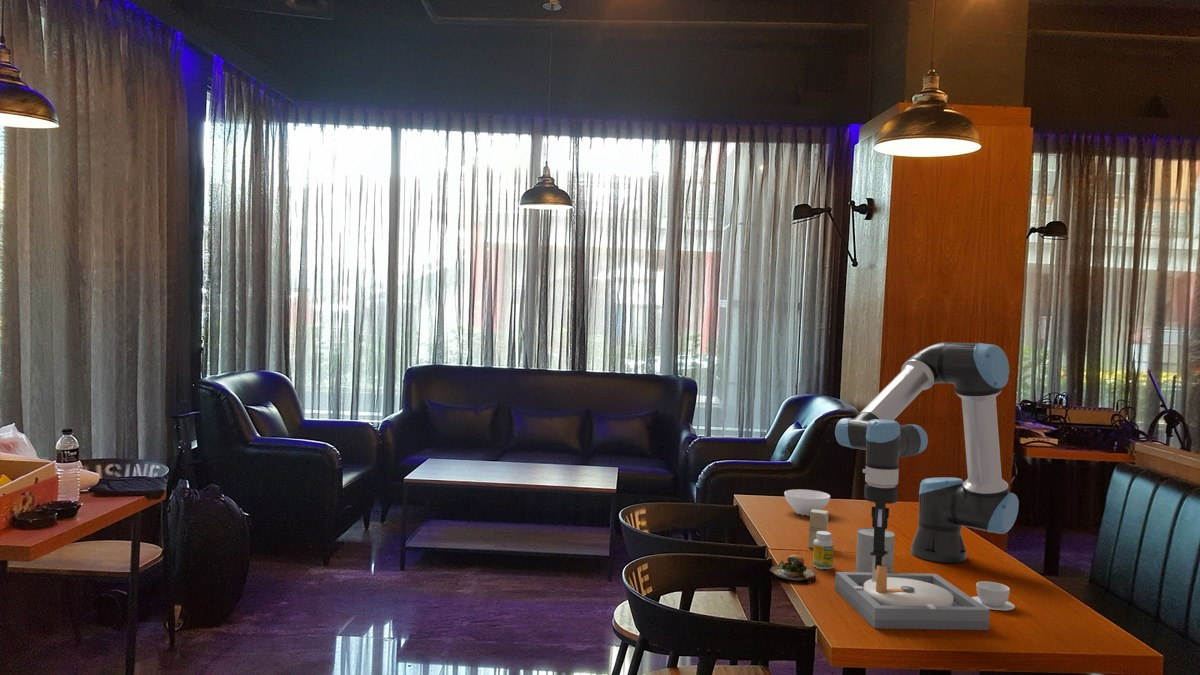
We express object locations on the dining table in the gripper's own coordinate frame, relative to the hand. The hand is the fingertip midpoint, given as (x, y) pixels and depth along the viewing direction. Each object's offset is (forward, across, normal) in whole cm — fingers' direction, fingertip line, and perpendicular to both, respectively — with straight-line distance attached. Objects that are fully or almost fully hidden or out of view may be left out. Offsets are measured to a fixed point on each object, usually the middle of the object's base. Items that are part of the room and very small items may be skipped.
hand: (877, 581), depth 194 cm
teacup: (+6, -13, +26) cm, 30 cm away
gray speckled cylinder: (+6, -22, -1) cm, 23 cm away
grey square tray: (+6, 0, +7) cm, 9 cm away
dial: (+3, 0, +7) cm, 7 cm away
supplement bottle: (+6, -26, -15) cm, 31 cm away
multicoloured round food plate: (+6, -13, -22) cm, 26 cm away
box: (+7, -46, -18) cm, 50 cm away
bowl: (+8, -91, -26) cm, 95 cm away
